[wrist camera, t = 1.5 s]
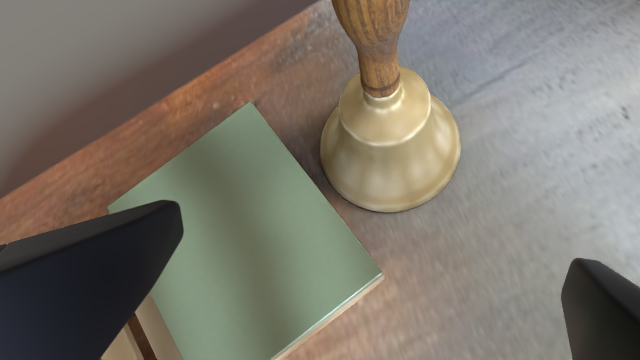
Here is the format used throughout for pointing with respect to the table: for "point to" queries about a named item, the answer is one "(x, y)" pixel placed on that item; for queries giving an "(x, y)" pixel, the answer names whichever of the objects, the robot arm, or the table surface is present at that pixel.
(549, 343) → the table surface
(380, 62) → the hand bell
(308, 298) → the rack
